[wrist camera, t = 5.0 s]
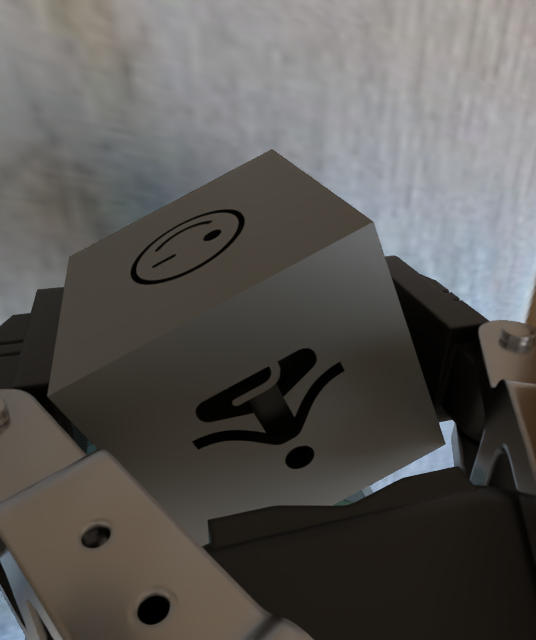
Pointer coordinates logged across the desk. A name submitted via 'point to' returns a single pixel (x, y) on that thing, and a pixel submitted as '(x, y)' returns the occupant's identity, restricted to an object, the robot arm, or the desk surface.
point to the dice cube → (243, 349)
